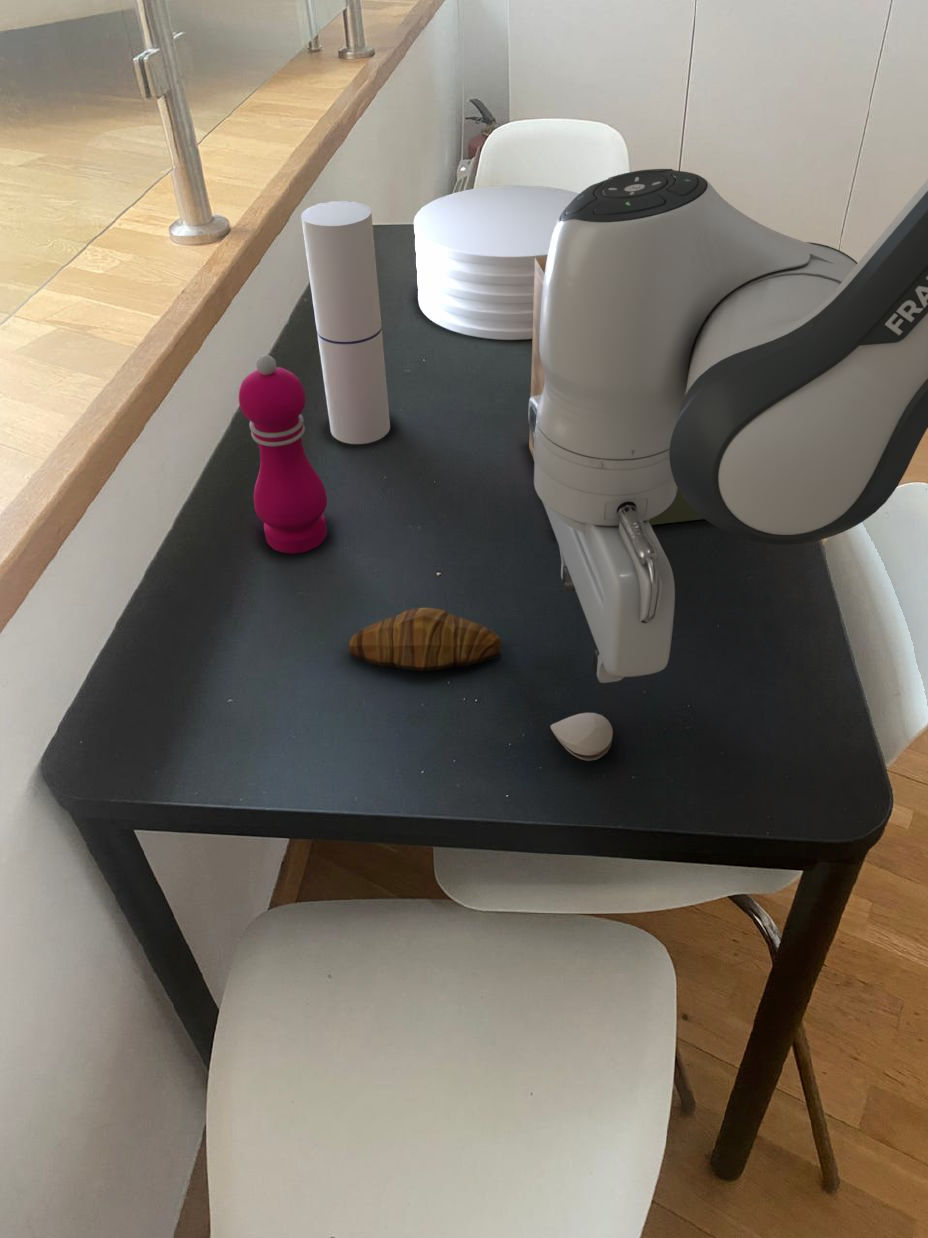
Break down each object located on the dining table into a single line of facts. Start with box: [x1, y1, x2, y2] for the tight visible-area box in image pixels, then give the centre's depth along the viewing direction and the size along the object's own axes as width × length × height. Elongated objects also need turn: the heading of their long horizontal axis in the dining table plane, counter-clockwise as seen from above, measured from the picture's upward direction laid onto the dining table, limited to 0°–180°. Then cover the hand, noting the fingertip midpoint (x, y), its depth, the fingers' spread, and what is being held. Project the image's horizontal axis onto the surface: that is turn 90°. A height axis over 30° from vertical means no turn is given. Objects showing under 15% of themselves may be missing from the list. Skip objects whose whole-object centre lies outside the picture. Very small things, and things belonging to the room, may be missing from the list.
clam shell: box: [550, 712, 614, 762], centre depth 73 cm, size 4×5×2 cm
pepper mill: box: [238, 354, 328, 554], centre depth 88 cm, size 7×7×20 cm
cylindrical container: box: [300, 200, 391, 445], centre depth 102 cm, size 7×7×25 cm
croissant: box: [348, 606, 503, 672], centre depth 80 cm, size 14×7×5 cm, turn 89°
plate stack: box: [413, 184, 580, 341], centre depth 133 cm, size 28×28×12 cm
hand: (590, 627), depth 65 cm, fingers open, 8 cm apart
